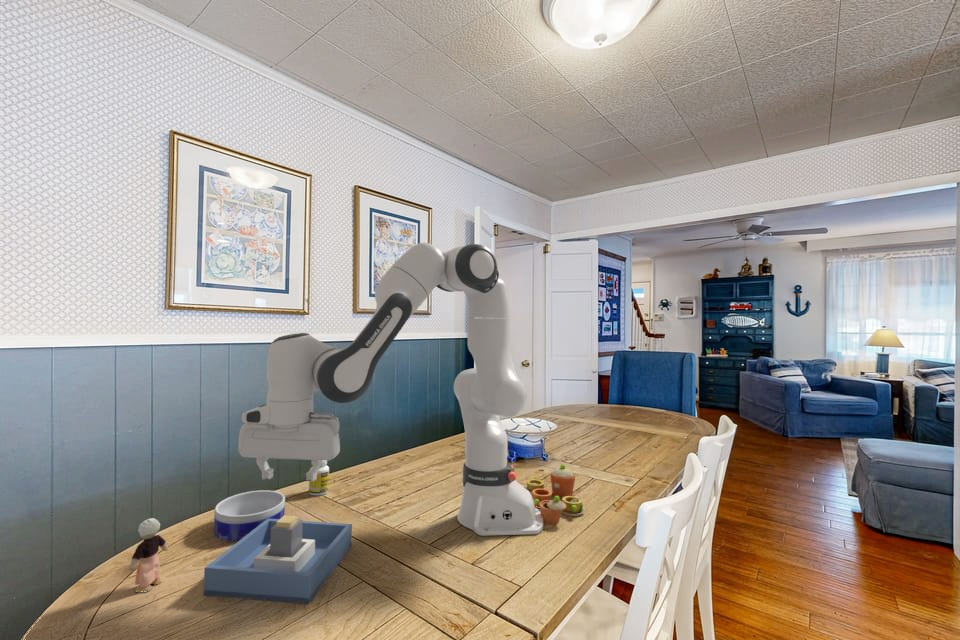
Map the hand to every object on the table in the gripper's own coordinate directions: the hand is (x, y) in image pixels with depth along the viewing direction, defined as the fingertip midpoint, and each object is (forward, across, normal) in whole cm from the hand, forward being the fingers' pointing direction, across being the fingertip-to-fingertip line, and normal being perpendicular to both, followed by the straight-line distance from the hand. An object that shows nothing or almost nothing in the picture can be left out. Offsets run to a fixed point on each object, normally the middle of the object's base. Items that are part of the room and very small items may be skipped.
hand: (289, 479), depth 87 cm
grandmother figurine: (+18, +22, +10) cm, 30 cm away
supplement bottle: (+19, +11, -38) cm, 43 cm away
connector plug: (+17, 0, 0) cm, 17 cm away
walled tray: (+18, 0, 0) cm, 18 cm away
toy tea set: (+20, -58, -39) cm, 73 cm away
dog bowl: (+18, +18, -16) cm, 30 cm away
